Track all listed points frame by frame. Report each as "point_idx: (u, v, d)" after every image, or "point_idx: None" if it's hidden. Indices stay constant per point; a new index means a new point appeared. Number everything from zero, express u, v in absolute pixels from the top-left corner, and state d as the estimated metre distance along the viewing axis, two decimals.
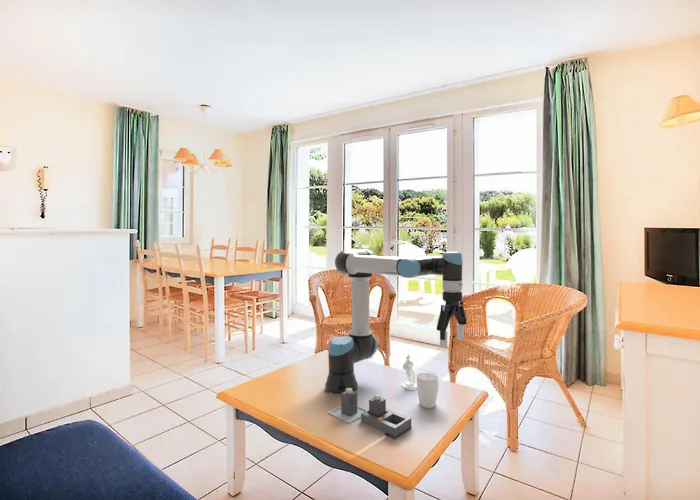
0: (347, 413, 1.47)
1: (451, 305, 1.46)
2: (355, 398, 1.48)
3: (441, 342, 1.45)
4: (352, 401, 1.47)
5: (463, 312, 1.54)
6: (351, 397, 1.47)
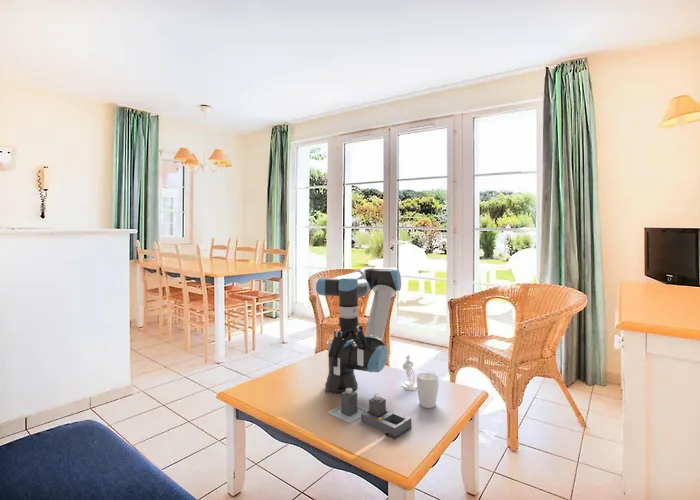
0: (347, 413, 1.47)
1: (346, 331, 1.45)
2: (355, 398, 1.48)
3: (334, 369, 1.44)
4: (352, 401, 1.47)
5: (363, 337, 1.53)
6: (351, 397, 1.47)
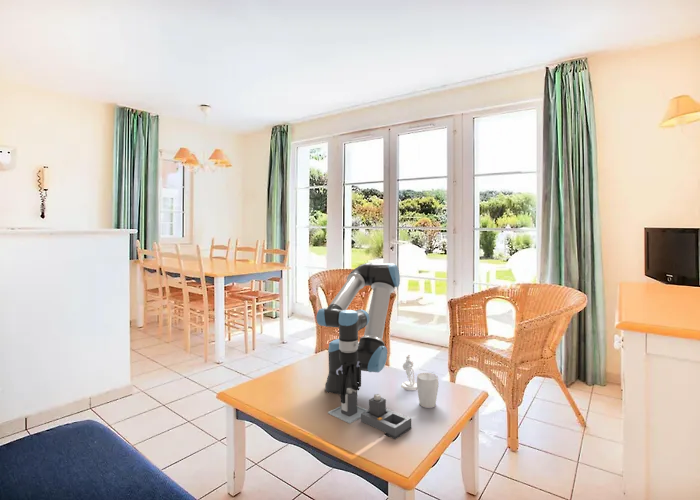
0: (347, 413, 1.47)
1: (345, 365, 1.45)
2: (355, 398, 1.48)
3: (342, 405, 1.47)
4: (352, 401, 1.47)
5: (359, 375, 1.52)
6: (351, 397, 1.47)
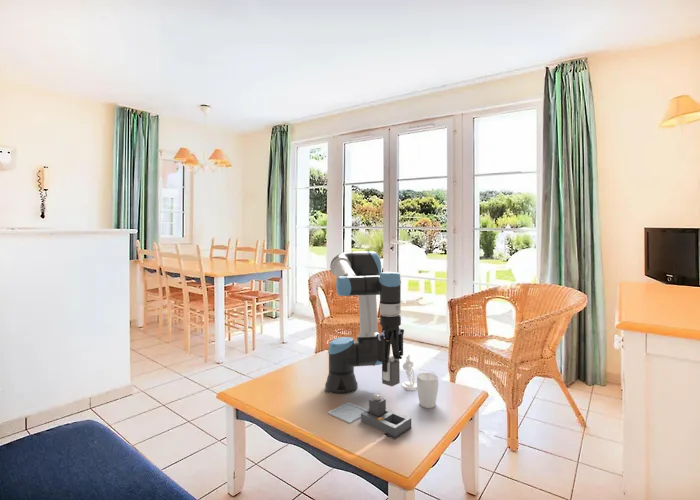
0: (390, 383, 1.35)
1: (387, 330, 1.34)
2: (397, 367, 1.36)
3: (384, 374, 1.35)
4: (394, 369, 1.35)
5: (401, 342, 1.40)
6: (393, 365, 1.35)
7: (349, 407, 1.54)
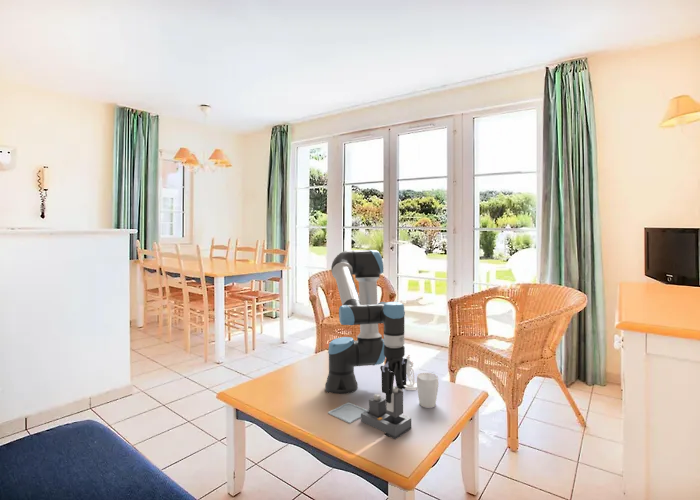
0: (394, 414, 1.35)
1: (391, 362, 1.34)
2: (401, 397, 1.37)
3: (387, 405, 1.36)
4: (398, 400, 1.35)
5: (404, 372, 1.40)
6: (397, 396, 1.35)
7: (349, 407, 1.54)
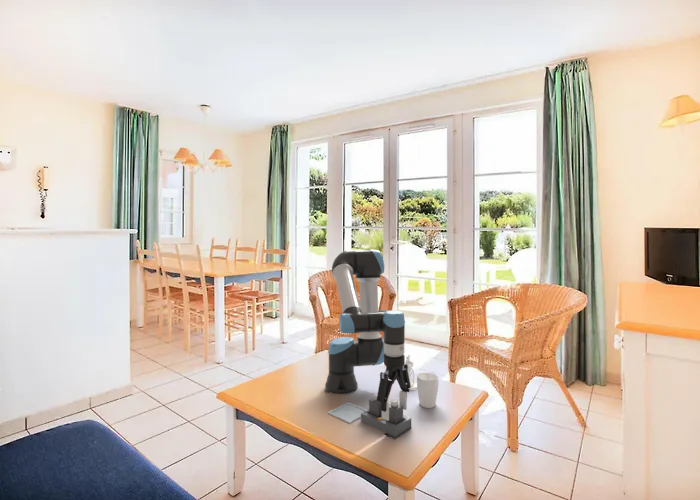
0: None
1: (392, 371, 1.34)
2: (401, 411, 1.37)
3: (382, 413, 1.34)
4: (398, 414, 1.36)
5: (407, 377, 1.41)
6: (397, 410, 1.35)
7: (349, 407, 1.54)
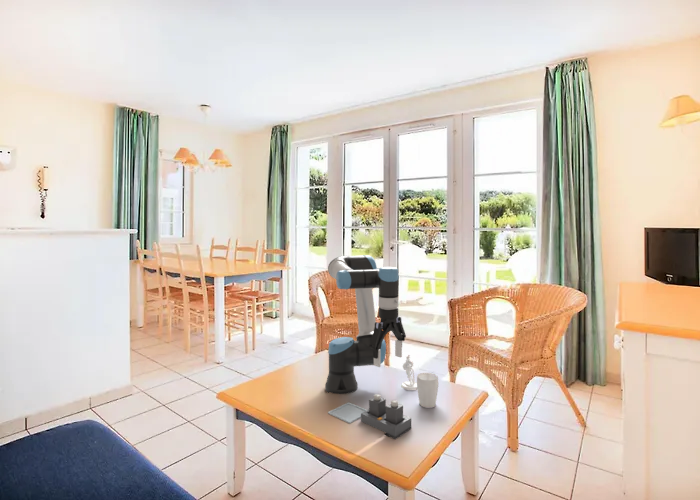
0: None
1: (386, 322, 1.42)
2: (401, 411, 1.37)
3: (374, 360, 1.41)
4: (398, 414, 1.36)
5: (401, 328, 1.50)
6: (397, 410, 1.35)
7: (349, 407, 1.54)
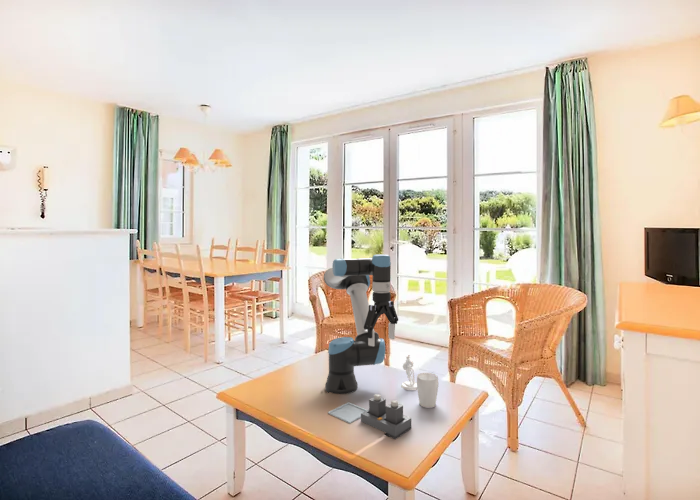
0: None
1: (379, 305, 1.54)
2: (401, 411, 1.37)
3: (369, 340, 1.52)
4: (398, 414, 1.36)
5: (394, 312, 1.61)
6: (397, 410, 1.35)
7: (349, 407, 1.54)
